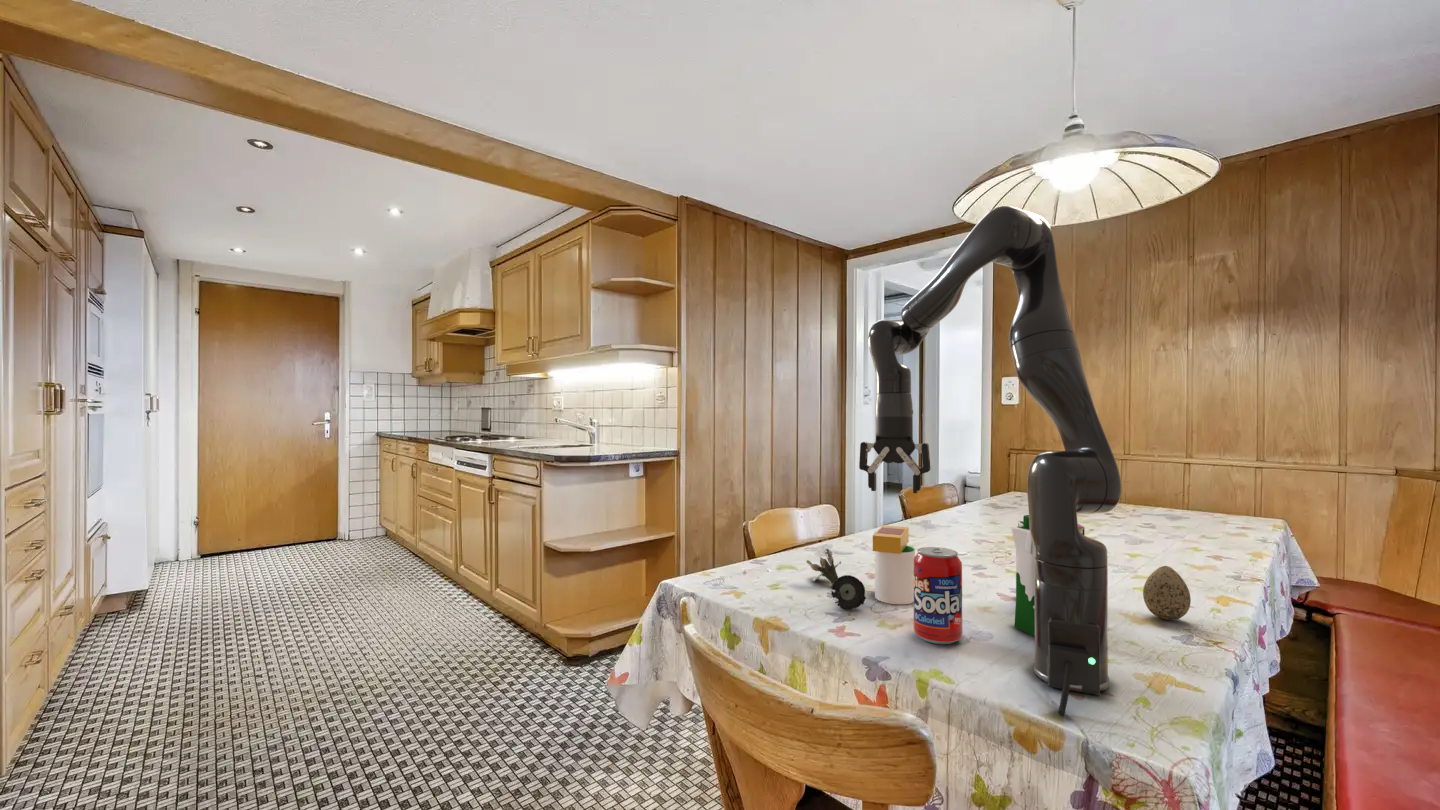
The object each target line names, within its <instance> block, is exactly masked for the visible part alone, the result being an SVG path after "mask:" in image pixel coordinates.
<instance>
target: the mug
mask: <svg viewBox="0 0 1440 810" xmlns="http://www.w3.org/2000/svg"><path fill="white" fill-rule="evenodd" d="M915 556H916V549H915V548H914V547H913V546H910V545H908V544H907V545H906V546H905V548H904V549H903V551H902V552H901V554H897V553H887V552H877V551H874V598H875V599H876V600H877V601H879V602H881V603H885V604H891V605H909V604H914V558H915Z"/></svg>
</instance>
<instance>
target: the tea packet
mask: <svg viewBox="0 0 1440 810" xmlns="http://www.w3.org/2000/svg"><path fill="white" fill-rule="evenodd" d="M909 529H910V528H909V526H900V525H899V526H898V525H885V524H883V525H882V526H881V527H880V528H879V529H878V530H877V531H875V533H873V534H872V552H875V551H877V552H887V553H897V554H901V552H902V551H903V549H904V548H905V546H906V545H907V546H908V544H909V540H910V539H909V535H910V533H909Z"/></svg>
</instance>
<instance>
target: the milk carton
mask: <svg viewBox="0 0 1440 810" xmlns="http://www.w3.org/2000/svg"><path fill="white" fill-rule="evenodd" d="M1022 521H1023V526H1022V527H1018V526H1015V527H1011V533H1012V534H1011V535H1012V539H1013V544H1014V548H1015V610H1014V622H1013V623H1014V625H1013V626H1014V628H1016V629H1017V630H1020V631H1022V632H1025V633H1026V634H1028V635H1031V636H1033V637H1035V551H1034V544H1033V541H1032V538H1031V535H1030V527H1029V514H1024V515H1023V518H1022Z"/></svg>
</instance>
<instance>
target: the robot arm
mask: <svg viewBox="0 0 1440 810" xmlns="http://www.w3.org/2000/svg"><path fill="white" fill-rule="evenodd" d="M1056 253H1057V252H1056V247H1055V240H1054V235H1053V231H1052V227H1051V226H1050V224H1049V222H1048V221H1047V220H1046V219H1045V218H1044V217H1043V216H1041V215H1039V214H1037V213H1034V212H1030V211H1028V210H1025V209H1021V208H1018V207H1014V206H1010V205H1001V206H997V207H995V208H992V209H991V210H989V212H987V213H986V214H985V215H984V216H983V217H982V218H981V219H980V220H979V221H978V222H977V224H975V226H974V227H973V228H972V230H971V231H970V232H969V233H968V234H967V236H966V237H965V238H964V240H962V242H961V244H960V245H959V246H958V247H957V248H956V250H955V251H954V252H953V253H952V255H951V256H950V257H949V259H948V260H947V262H946V263H945V264H944V265H943V266H942V267H941V269H940V270H939V271H938V273H936V275H935V276H934V277H933V278H932V279H931V280H930V281H929V282H928V283H927V284H926V285H925V286H924V287H923V288H921V290H919V291H918V292H917V293H916V294H915V295H914V296H912V297H911V299H909V300H908V301H907V302H906V303H905V304H904V306H902V309H901V312H900V317H901V319H902V320H890V319H879V320H877V321H876V322H874V323H873V324H872V326H871V327H870V329H869V332H868V337H867V342H868V349H869V352H870V355H871V360H872V364H873V367H874V371H875V374H876V398H875V440H874V442H868V441H862V442H860V444H859V445H860V446H859V461H858V462H859V463H858V468H859V470H860V471H864V472H866V473H867V482H868V483H867V487H868V488H869V489H870V491H871V492H876V491H877V472H876V470H878V469H879V467H880V466H881V465H882V463H883V462H884V463H886V464H891V463H895V464H903V463H905V465H907V467H908V468H909V469H910V470H911V471H912V472H913V475H912V493H913V494H918V492H919V491H921V489H922V475H923V474H925V473H926V474H927V473H929V472H930V471H931V455H930V444H929V443H928V442H923V443H915V442H914V425H913V423H914V421H913V418H914V417H913V415H914V409H913V398H912V372H911V369H910V367H908V366H906V365H904V364H901V363H900V362H899V361H898V358H897V355H907V354H910V353H912V352H914V351H915V350H917V348H918V347H919V346H920V345H921V344H922V342H923V341H924V339H925V338H926V336H927V335H928V334H929V332H930V330H931V329H932V328H933V327H935V326H936V325H937V324H938V323H939V322H941V321H942V320H944V319H945V318H946V317H947V316H948V315H949V314H950V313H951V312H952V311H954V309H955V308H956V307H957V305H958V303H959V302H960V300H961V297H962V294H963V291H964V289H965V286H966V284H967V283H968V281H969V279H970V278H971V277H972V276H973V275H974V274H975V273H977V272H979V270H981V269H982V268H984V267H985V266H987V265H988V264H990V263H994V264H996V265H997V264H998V265H1001V266H1005V267H1008V268H1009V269H1010V271H1011V273H1012V276H1013V279H1014V282H1015V286H1016V290H1017V297H1018V299H1017V306H1016V310H1015V312H1014V316H1013V318H1012V321H1011V324H1010V328H1009V332H1008V345H1009V350H1010V354H1011V359H1012V363H1013V368H1014V371H1015V374H1016V377H1017V379H1018V381H1019V383H1020V385H1021V386H1022V387H1023V388H1024V390H1025V391H1026V392H1027V393H1028V395H1029V396H1031V398H1032V399H1033V400H1034V401H1035V402H1036V403H1037V404H1038V406H1040V408H1041V409H1042V410H1043V412H1045V413H1046V414H1047V415H1048V417H1049V418H1050V419H1051V421H1052V423H1053V424H1054V425H1055V428H1056V429H1057V432H1058V434H1059V437H1060V440H1061V443H1062V446H1063V449H1064V450H1052V451H1051V450H1050V451H1043V452H1041V453H1037V455H1035V456H1034V457H1033V459H1032V460H1031V462H1030V465H1029V467H1028V471H1027V476H1026V477H1027V479H1026V491H1027V506H1028V507H1027V508H1028V515H1029V527H1030V535H1031V538H1032V541H1033V544H1034V551H1035V636H1034V663H1033V672H1034V674H1035V676H1037V678H1039V679H1040V680H1042V681H1044V682H1045V683H1046V684H1048V685H1047V686H1049V687H1050V688H1054V689H1055V688H1056V689H1061V696H1060V700H1059V701H1060V702H1059V707H1058V711H1057V714H1058V715H1059V716H1061V717H1064V716H1065V714H1066V709H1067V704H1068V699H1069V693H1070V691H1073V692H1078V693H1083V694H1090V695H1095V696H1100V695H1101V692H1103V691H1106V690H1108V689H1109V687H1110V678H1109V638H1108V637H1109V634H1108V633H1109V629H1108V628H1109V626H1108V625H1109V623H1108V619H1109V618H1108V615H1109V614H1108V613H1109V612H1108V610H1109V609H1108V608H1109V605H1108V602H1109V601H1108V600H1109V599H1108V596H1109V595H1108V579H1109V578H1108V577H1109V576H1108V574H1109V573H1108V572H1109V571H1108V569H1109V568H1108V567H1109V566H1108V564H1109V563H1108V562H1109V561H1108V557H1109V555H1108V549H1107V547H1106V545H1105V544H1104V543H1103V542H1102V541H1099V540H1097V539H1095V538H1091V537H1089V536H1086V535H1085V534H1084V535H1083V534H1082V533H1081V532H1080V531H1079V528H1078V524H1079V522H1078V515H1094V514H1105V513H1109V512H1111V511H1113V510H1114V509H1115V508H1117V506H1118V504H1119V503H1120V500H1121V497H1122V491H1123V490H1122V489H1123V488H1122V477H1121V473H1120V469H1119V465H1118V463H1117V460H1116V458H1115V456H1114V453H1113V450H1112V448H1111V446H1110V442H1109V441H1108V438H1107V436H1106V432H1105V430H1104V428H1103V426H1102V423H1101V421H1100V418H1099V415H1098V413H1097V410H1096V407H1095V405H1094V401H1093V396H1092V393H1091V391H1090V388H1089V385H1088V381H1087V378H1086V374H1085V371H1084V367H1083V363H1082V360H1081V359H1082V358H1081V354H1080V350H1079V346H1078V342H1077V338H1076V335H1075V332H1074V329H1073V326H1072V322H1071V320H1070V316H1069V313H1068V312H1069V311H1068V308H1067V304H1066V300H1065V296H1064V293H1063V292H1064V291H1063V289H1062V284H1061V280H1060V275H1059V268H1058V260H1057V254H1056ZM872 449H873V450H874V451H875V452H876V454H877V456H876V458H874V460H873V462H872V463H871V465H869V464H868V456H869V455H868V454H869V453H871V451H872ZM915 450H917V453H918V454H920V455H921V458H922V467H920V466H918V464H917V462H916V461H915V460H914V458H913V457H912V456H911V455H912V454H913V452H914V451H915Z"/></svg>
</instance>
